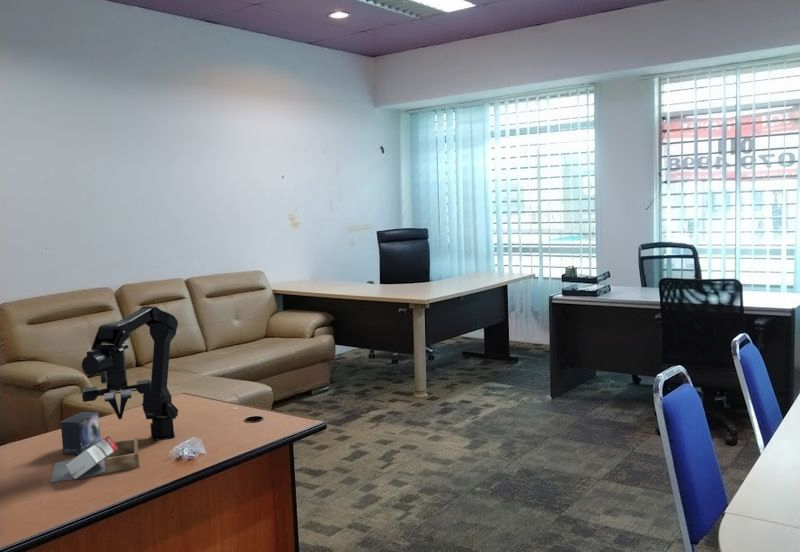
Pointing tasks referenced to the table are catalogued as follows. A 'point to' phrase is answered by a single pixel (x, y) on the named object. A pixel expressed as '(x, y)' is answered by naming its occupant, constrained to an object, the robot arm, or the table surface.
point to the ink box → (91, 457)
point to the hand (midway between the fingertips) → (120, 418)
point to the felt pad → (63, 474)
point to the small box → (80, 432)
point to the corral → (123, 456)
